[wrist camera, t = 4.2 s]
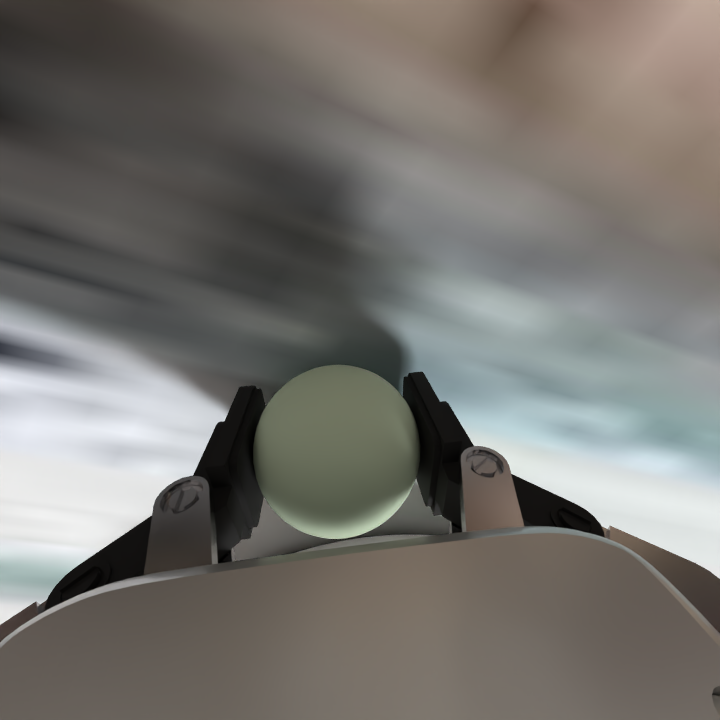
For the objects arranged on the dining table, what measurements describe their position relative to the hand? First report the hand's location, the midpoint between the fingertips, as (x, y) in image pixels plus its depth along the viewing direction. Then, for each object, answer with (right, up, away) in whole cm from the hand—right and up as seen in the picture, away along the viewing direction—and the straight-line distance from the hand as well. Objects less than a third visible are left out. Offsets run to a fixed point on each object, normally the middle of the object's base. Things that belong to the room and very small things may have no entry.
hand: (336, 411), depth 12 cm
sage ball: (0, -1, -2) cm, 2 cm away
